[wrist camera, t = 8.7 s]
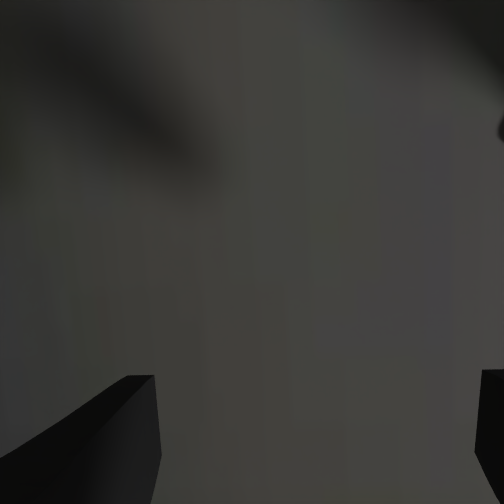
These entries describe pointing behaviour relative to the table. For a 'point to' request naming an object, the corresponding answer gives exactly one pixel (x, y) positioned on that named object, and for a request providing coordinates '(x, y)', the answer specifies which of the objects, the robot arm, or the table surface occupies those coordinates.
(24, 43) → the table surface
